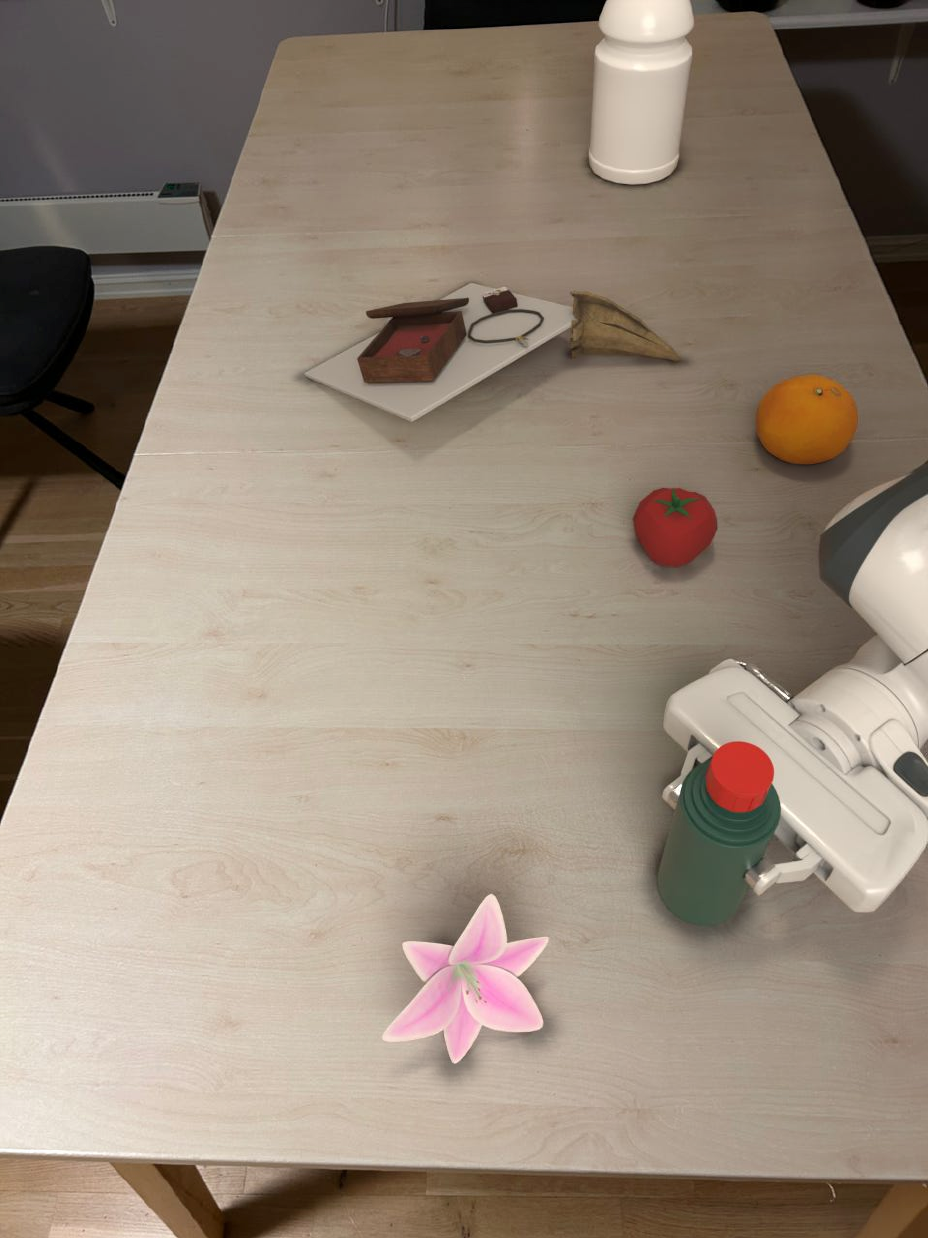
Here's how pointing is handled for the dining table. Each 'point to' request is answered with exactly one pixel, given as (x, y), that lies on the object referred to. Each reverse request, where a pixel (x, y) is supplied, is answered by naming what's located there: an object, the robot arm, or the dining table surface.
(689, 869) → the bottle
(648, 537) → the tomato
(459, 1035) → the lily
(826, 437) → the fruit
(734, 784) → the cap
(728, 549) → the dining table surface
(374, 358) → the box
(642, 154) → the bottle
